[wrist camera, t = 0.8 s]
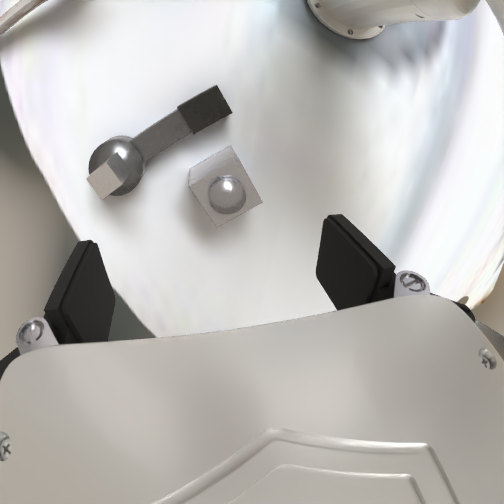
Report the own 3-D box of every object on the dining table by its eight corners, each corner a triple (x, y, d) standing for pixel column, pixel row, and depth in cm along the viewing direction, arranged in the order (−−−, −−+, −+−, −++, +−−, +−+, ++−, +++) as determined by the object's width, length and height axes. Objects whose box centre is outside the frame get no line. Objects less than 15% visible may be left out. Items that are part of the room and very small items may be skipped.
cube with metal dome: (230, 145, 33) (239, 160, 27) (251, 183, 36) (264, 206, 30) (189, 168, 34) (188, 189, 28) (212, 204, 37) (217, 231, 31)
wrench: (-28, 64, 15) (124, -39, 14) (-27, 72, 16) (125, -30, 15) (-60, 72, 9) (100, -60, 8) (-60, 82, 10) (100, -50, 9)
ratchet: (208, 74, 27) (212, 70, 21) (235, 121, 31) (246, 130, 25) (86, 157, 29) (63, 175, 23) (115, 196, 33) (100, 222, 27)
